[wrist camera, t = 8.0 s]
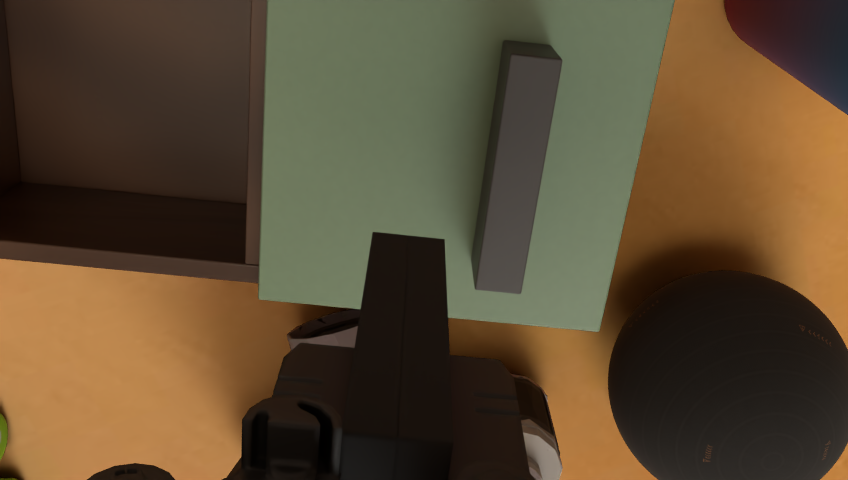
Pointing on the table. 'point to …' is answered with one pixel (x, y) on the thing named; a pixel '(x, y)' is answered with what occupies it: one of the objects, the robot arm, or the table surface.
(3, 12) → the walnut box
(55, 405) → the table surface
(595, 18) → the sliding lid
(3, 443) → the toy car
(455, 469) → the robot arm
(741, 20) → the cup
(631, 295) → the table surface
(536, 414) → the camera
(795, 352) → the speaker
